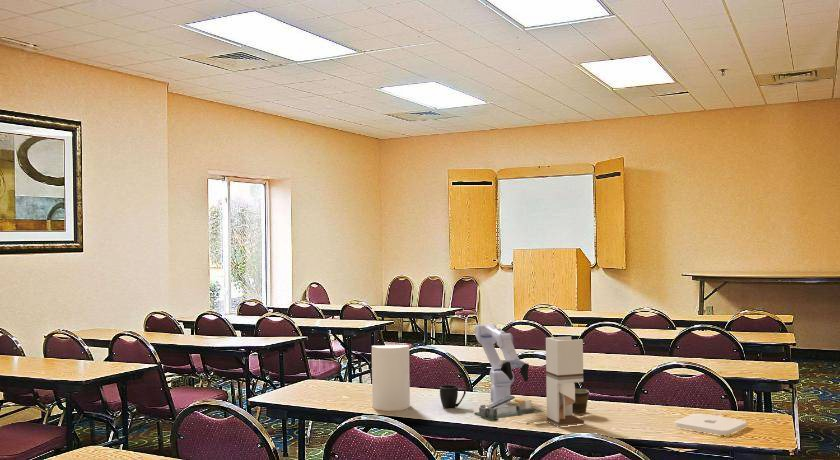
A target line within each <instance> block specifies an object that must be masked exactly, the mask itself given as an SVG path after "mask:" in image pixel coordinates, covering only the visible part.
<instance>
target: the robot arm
mask: <svg viewBox="0 0 840 460" xmlns="http://www.w3.org/2000/svg"><path fill="white" fill-rule="evenodd" d="M474 335H475V338H476V340H477V342H478V344H480V345H481V346H482V349H483V351H484V353H485V355H486V358H487V359H488V361H489V364H490V366H491V368H490V371H489V377H490V382H491V384H492V385H491V387H490V401H489V402H488V403H489V404H490V403H491V404H492V403H495V402H497V401H499V400H501V399H503V398H506V397H508V396H510V395H511V386H512V384H513V383H514V381H515V374H514V372H513V371H512V370H513V369H520V371H519V372H518V373H520V375H521V376H522V378H523V381H524V382H525V383H526V382H528V380H529V368H530V365H529V363H528V362H525V361H522V360H521V359H520V358H519V356H518V354H517V351H516V348H515V346H514V345H515V344H514V335H513V334H512V333H511V332H508V333H507V332H505V331H504V330H502V328H501V327H498V328H497V325H496V324H495V323H492V324H475V328H474ZM494 344H496V345H497V347H499V350H501V352H502V354H503V358H504V359H500V356H499V354H498V351H497V350H496V348H495V346H494ZM506 403H507V404H508V405H509V404H511V400H510V401H508V402H506Z"/></svg>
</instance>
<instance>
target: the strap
mask: <svg viewBox="0 0 840 460" xmlns="http://www.w3.org/2000/svg"><path fill="white" fill-rule="evenodd" d="M515 399H516V397H515V395H511V394H510V396H508V397H506V398H503V399H501V400H499V401H497V402H495V403H494V402H491V404H490V403H489V405H488V404H487V405H488V406H487V405H486V407H485V406H483V408H486V409H487V410H488V408H495V407H497V406H499V405H501V404H503V403H506V402H508V401H510V402H511V401H512V400H515Z"/></svg>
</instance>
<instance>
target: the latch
mask: <svg viewBox="0 0 840 460" xmlns="http://www.w3.org/2000/svg"><path fill="white" fill-rule="evenodd" d="M514 401H515V403H518V406H519V409H528V408H532V400H531V399H528V398H525V397H524V398H514ZM519 409H518V410H519Z"/></svg>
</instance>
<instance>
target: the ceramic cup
mask: <svg viewBox="0 0 840 460" xmlns="http://www.w3.org/2000/svg"><path fill="white" fill-rule="evenodd" d="M589 396H590V390H588V389H585V388H575V403H573V404H572V411H573V414H575V415H583V414H586V412H587V406H588V400H589Z"/></svg>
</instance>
